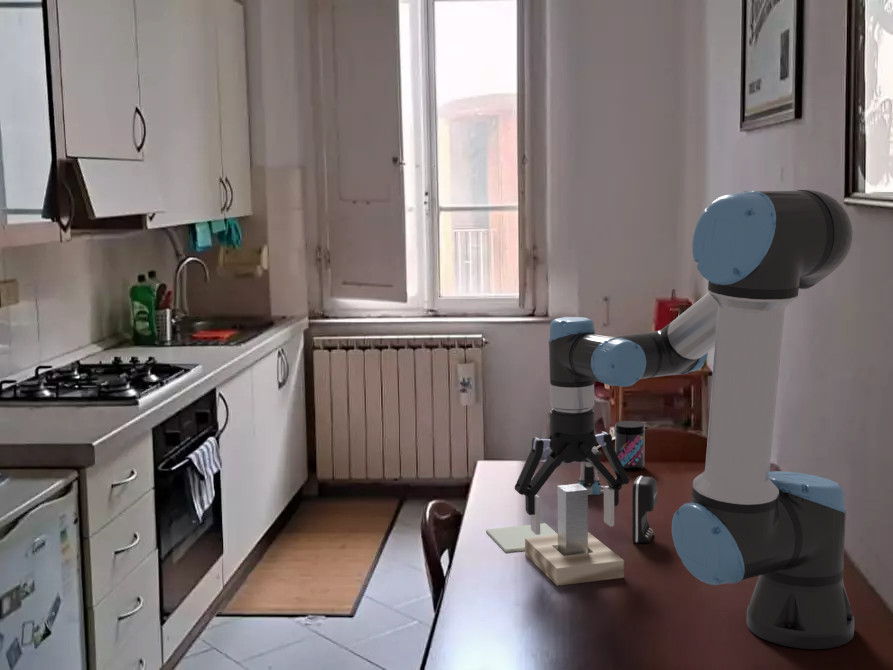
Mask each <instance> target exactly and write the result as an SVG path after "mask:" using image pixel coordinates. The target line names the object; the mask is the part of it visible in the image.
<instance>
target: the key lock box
mask: <svg viewBox="0 0 893 670" xmlns="http://www.w3.org/2000/svg"><path fill="white" fill-rule="evenodd" d="M657 485H658V483H657V480H656V479H655V478H654V477H652V476H643V475H639V476H637V477H636V478H635V480H634V481H633V484H632V491H631V492H632V495H631V498H632V503H631V504H632V505H631V507H632V508H631V509H632V511H631V515H632V516H631V517H632V518H631V519H632V520H631V521H632V525H631V526H632V533H631V535H632V536H631V537H632V538H631V539H632V543H633V542H634V543H636V544H638V543H645V544H646V543H649V542H651V540H652V538H653V536H654V530H653V528H651V526H650V524H649V521H648V512H652V511H654V509H655V507H656V506H657V503H658V486H657Z"/></svg>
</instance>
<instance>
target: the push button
mask: <svg viewBox="0 0 893 670" xmlns="http://www.w3.org/2000/svg"><path fill="white" fill-rule="evenodd" d="M591 451H592V452H593V453H594V454H595V455H596V457H597V458H598V459H599V461H600V462H601V456H602V455H603V453H602V451H601V450H598V447H597V446H596V445H594V447H593V449H592V450H591ZM598 474H599V473H598V472H597V470H596V469H595V468H594V467H593V466H592V465H591V464H590V462H589V461H588V460H587V459H585V460H583V462H580V477H579V479H578V480H577V484H580V485H582V486H583V487H585V488H586V489H587V490H588V496H594V495H596V496H597V495H601V492H603V493H604V486H605V485H601V481H600V478H599V475H598ZM601 488H603V489H601Z"/></svg>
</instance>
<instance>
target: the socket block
mask: <svg viewBox="0 0 893 670" xmlns="http://www.w3.org/2000/svg"><path fill="white" fill-rule="evenodd" d="M524 555H525V556H526V557H527V558H528V559H529V560H530V561H531V562H532V563H533V564H534V565H536V567H537V568H538V569H540V571H541V572H542V573H543V574H545V576H546V577H547V578H548V579H549V580H551V582H552V583H554V585H555V586H559V585H560V586H566V585H575V584H581V583H590V582H599V581H606V580H614V579H622V578H624V577H625V560H624V558H622V557H620V556H619V555H618V554H616V553H615V552H614V551H613V550H611V549H610V548H609V547H608V546H606V545H605V544H604V543H603V542H602V541H600V540H599V539H598V538H596V537H595V536H594V535H593V534H592V533H590V531H588V553H585V554H576V555H568V556H563V555H562V554H561V553H560V552H559V551H558V535H549V536H540V537H531V538H525V550H524Z"/></svg>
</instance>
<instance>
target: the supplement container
mask: <svg viewBox="0 0 893 670" xmlns="http://www.w3.org/2000/svg"><path fill="white" fill-rule="evenodd" d="M645 429H646V426H645V423H644V422H642V421H638V420H637V421H635V420H623V421H621V420H620V421H617V422H615V425H614V432H615V434H614V435H615V436H614V439H615V442H614V443H615V444H614V449H615V452H616V454H617V456H618V458H619V460H620V462H621V464H622V466H623V468H624V470H625V472H637V471H641V470H643V469H644V467H645V431H646V430H645Z"/></svg>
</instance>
